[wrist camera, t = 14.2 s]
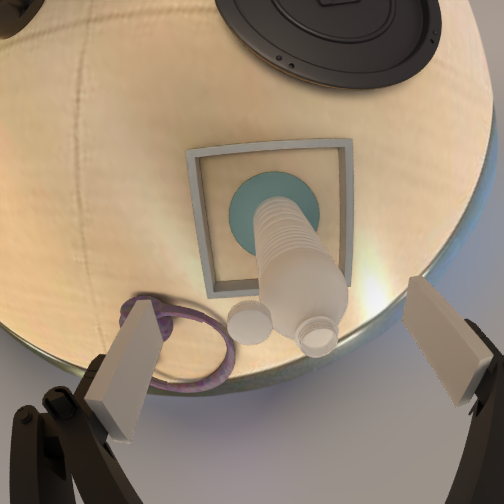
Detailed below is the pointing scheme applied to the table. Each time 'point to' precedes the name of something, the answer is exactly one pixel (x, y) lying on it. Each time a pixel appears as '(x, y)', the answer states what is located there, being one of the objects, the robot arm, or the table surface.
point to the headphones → (166, 328)
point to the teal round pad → (260, 191)
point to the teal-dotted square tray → (192, 155)
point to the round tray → (339, 38)
